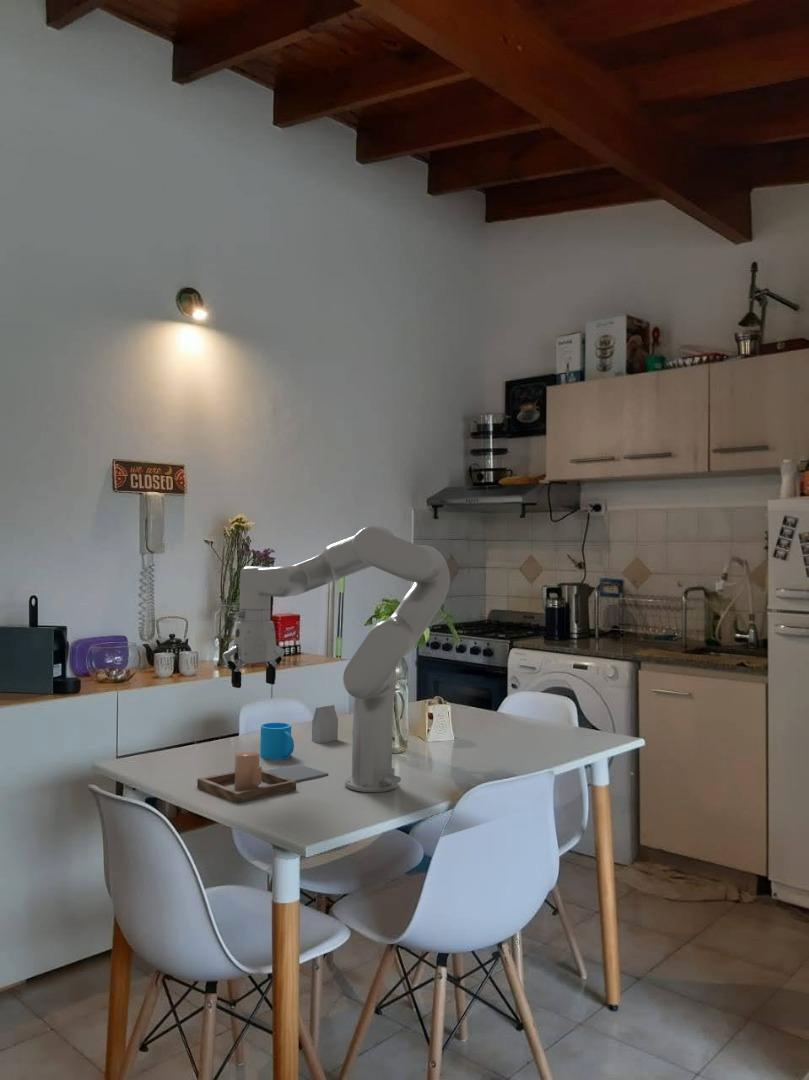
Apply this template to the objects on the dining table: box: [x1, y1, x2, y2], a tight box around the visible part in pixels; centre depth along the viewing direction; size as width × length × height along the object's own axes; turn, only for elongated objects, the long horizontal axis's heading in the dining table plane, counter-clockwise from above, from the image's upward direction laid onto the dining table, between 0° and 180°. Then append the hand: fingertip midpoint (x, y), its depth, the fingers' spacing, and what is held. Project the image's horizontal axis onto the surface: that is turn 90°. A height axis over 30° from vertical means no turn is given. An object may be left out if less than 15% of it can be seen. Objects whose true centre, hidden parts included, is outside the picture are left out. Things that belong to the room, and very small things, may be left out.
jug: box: [234, 751, 263, 792], centre depth 208 cm, size 8×6×8 cm
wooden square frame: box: [196, 769, 297, 804], centre depth 209 cm, size 16×16×2 cm
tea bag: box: [311, 704, 339, 744], centre depth 261 cm, size 4×7×10 cm, turn 136°
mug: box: [259, 722, 295, 760], centre depth 240 cm, size 12×8×8 cm
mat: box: [265, 763, 329, 783], centre depth 222 cm, size 12×12×1 cm
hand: (253, 685), depth 221 cm, fingers open, 9 cm apart
